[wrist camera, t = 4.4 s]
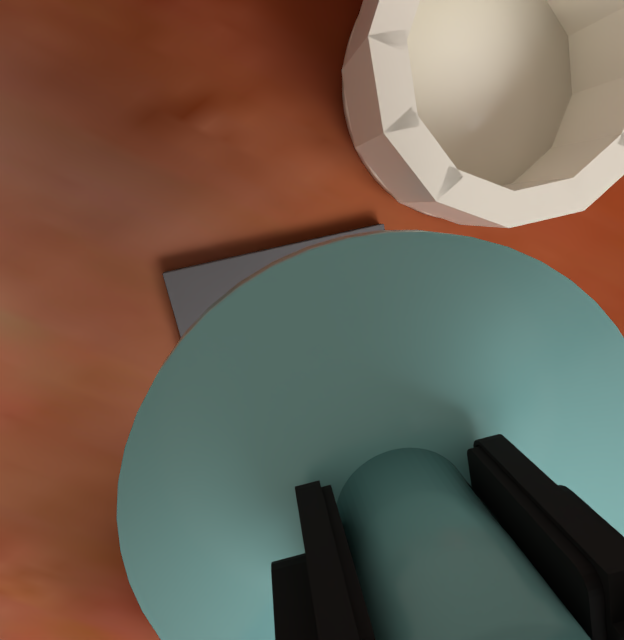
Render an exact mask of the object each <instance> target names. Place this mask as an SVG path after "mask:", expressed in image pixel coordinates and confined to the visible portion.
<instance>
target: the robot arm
mask: <svg viewBox="0 0 624 640" xmlns="http://www.w3.org/2000/svg"><path fill="white" fill-rule="evenodd" d="M467 458H468V465H469V473H470V480H471V487H472V488H473V489H474V491H475V492H476V493H477V494H478V496H479V497H480V498H481V499H482V501H483V502H484V503H485V505H486V506H487V507H488V508H489V510H490V511H491V512H492V514H493V515H494V516H495V517H496V519H497V520H498V521H499V522H500V524H501V525H502V526H503V528H504V529H505V530H506V531H507V533H508V534H509V535H510V536H511V538H512V539H513V540H514V542H515V543H516V544H517V545H518V547H519V548H520V549H521V551H522V552H523V553H524V554H525V556H526V557H527V558H528V559H529V561H530V562H531V563H532V565H533V566H534V567H535V568H536V570H537V571H538V572H539V574H540V575H541V576H542V577H543V579H544V580H545V581H546V582H547V584H548V585H549V586H550V588H551V589H552V590H553V591H554V593H555V594H556V595H557V596H558V598H559V599H560V600H561V602H562V603H563V604H564V605H565V607H566V608H567V609H568V611H569V612H570V613H571V614H572V616H573V617H574V618H575V619H576V621H577V622H578V623H579V625H580V626H581V627H582V628H583V630H584V631H585V632H586V633H587V635H588V636H589V637H590V639H591V640H624V536H622V535H621V534H620V533H619V532H618V531H617V530H616V529H615V528H613V527H612V526H611V525H610V524H609V523H608V522H607V521H606V520H604V519H603V518H602V517H601V516H600V515H599V514H598V513H597V512H595V511H594V510H593V509H592V508H591V507H590V506H589V505H588V504H586V503H585V502H584V501H583V500H582V499H581V498H580V497H579V496H577V495H576V494H575V493H574V492H573V491H572V490H570V489H569V488H568V487H566V486H563V485H557V484H556V483H555V482H554V481H553V480H551V479H550V478H549V477H548V476H547V475H546V474H545V473H544V472H543V471H542V470H541V469H539V468H538V467H537V466H536V465H535V464H534V463H533V462H532V461H531V460H530V459H528V458H527V457H526V456H525V455H524V454H523V453H522V452H521V451H520V450H519V449H517V448H516V447H515V446H514V445H513V444H512V443H511V442H510V441H509V440H508V439H507V438H505V437H504V436H503V435H501V434H497V435H493V436H489V437H485V438H481V439H478V440H475V441H474V444H473V448H471V449H468V450H467ZM295 493H296V499H297V505H298V511H299V518H300V524H301V530H302V536H303V543H304V549H305V553H303V554H300V555H296V556H292V557H288V558H285V559H281V560H277V561H273V562H272V563H271V577H272V594H273V611H274V628H275V640H375V636H374V632H373V628H372V624H371V621H370V617H369V614H368V611H367V607H366V604H365V600H364V597H363V593H362V590H361V586H360V583H359V580H358V576H357V573H356V569H355V566H354V562H353V559H352V556H351V552H350V549H349V545H348V542H347V538H346V535H345V531H344V528H343V525H342V521H341V518H340V514H339V511H338V507H337V504H336V501H335V497H334V494H333V490H332V487H331V485H327V486H323V487H321V485H320V481H319V480H318V481H314V482H310V483H307V484H303V485H299V486H295Z"/></svg>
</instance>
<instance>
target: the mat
mask: <svg viewBox="0 0 624 640" xmlns="http://www.w3.org/2000/svg"><path fill="white" fill-rule="evenodd" d="M379 230H385V229H384V224H377V225H372V226H368V227H363V228H359V229H355V230H350V231H346V232H341V233H337V234H332V235H328V236H323V237H319V238H314V239H310V240H305V241H301V242H296V243H292V244H288V245H283V246H279V247H274V248H270V249H265V250H261V251H256V252H252V253H247V254H243V255H238V256H234V257H230V258H225V259H221V260H216V261H212V262H207V263H203V264H198V265H194V266H189V267H185V268H180V269H176V270H172V271H167V272H164V273H163V277H164V280H165V284H166V287H167V291H168V294H169V298H170V301H171V305H172V308H173V312H174V315H175V319H176V322H177V326H178V329H179V333H180V336H181V337H182V336H183V335H184V333H185V332H186V331H187V330H188V329H189V328H190V327H191V326H192V325H193V324H194V322H195V321H196V320H197V319H198V318H199V317H200V316H201V315H202V314H203V313H204V312H205V311H206V310H207V309H208V308H209V307H210V306H211V305H212V304H213V303H214V302H215V301H217V300H218V299H219V298H220V297H222V296H223V295H224V294H225V293H227V292H228V291H229V290H230V289H232V288H233V287H234V286H235V285H236V284H238V283H239V282H240V281H242V280H244V279H245V278H247V277H248V276H250V275H252V274H253V273H255V272H257V271H258V270H260V269H262V268H263V267H265V266H267V265H268V264H270V263H271V262H273V261H276V260H278V259H280V258H282V257H285V256H287V255H289V254H291V253H294V252H296V251H298V250H300V249H303V248H305V247H307V246H311V245H314V244H318V243H321V242H324V241H328V240H331V239H335V238H338V237H341V236H346V235H353V234H359V233H366V232H372V231H379Z"/></svg>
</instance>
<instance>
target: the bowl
mask: <svg viewBox="0 0 624 640" xmlns="http://www.w3.org/2000/svg"><path fill="white" fill-rule="evenodd" d="M341 71H342V99H343V108H344V115H345V119H346V123H347V127H348V131H349V134H350V137H351V139H352V142H353V145H354V147H355V149H356V151H357V153H358V155H359V157H360V159H361V161H362V163H363V164H364V166H365V167H366V169H367V170H368V171H369V173H370V174H371V176H372V177H373V178H374V179H375V180H376V181H377V183H378V184H379V185H380V186H381V187H382V188H383V189H384V190H385V191H386V192H388V193H389V194H390V195H391V196H392V197H394V198H395V199H396V200H397V201H398V202H399V203H401V204H404V205H406V206H407V207H409V208H411V209H414V210H416V211H418V212H420V213H423V214H426V215H430V216H433V217H437V218H443V219H446V220H448V221H451V222H454V223H457V224H459V225H473V226H487V227H501V228H511V227H516V226H520V225H524V224H529V223H533V222H537V221H542V220H546V219H550V218H555V217H559V216H563V215H567V214H572V213H576V212H580V211H584V210H585V209H586V208H587V207H589V206H590V205H591V204H592V203H593V202H594V201H595V200H596V199H597V198H599V197H600V196H601V195H602V194H603V193H604V192H605V191H606V190H607V189H609V188H610V187H611V186H612V185H613V184H614V183H615V182H616V181H617V180H618V179H620V178H621V177H622V176H623V175H624V0H363V3H362V6H361V9H360V12H359V15H358V17H357V19H356V21H355V24H354V27H353V29H352V32H351V34H350V37H349V40H348V44H347V49H346V53H345V57H344V64H343V67H342V70H341Z"/></svg>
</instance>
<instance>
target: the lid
mask: <svg viewBox="0 0 624 640" xmlns="http://www.w3.org/2000/svg"><path fill="white" fill-rule="evenodd" d="M497 434H501V435H503V436H504V437H505V438H507V439H508V440H509V441H510V442H511V443H512V444H513V445H514V446H515V447H516V448H517V449H519V450H520V451H521V452H522V453H523V454H524V455H525V456H526V457H527V458H528V459H530V460H531V461H532V462H533V463H534V464H535V465H536V466H537V467H538V468H539V469H541V470H542V471H543V472H544V473H545V474H546V475H547V476H548V477H549V478H550V479H551V480H553V481H554V482H555V483H556V484H557V485H563V486H566V487H568V488H569V489H570V490H572V491H573V492H574V493H575V494H576V495H577V496H579V497H580V498H581V499H582V500H583V501H584V502H585V503H586V504H588V505H589V506H590V507H591V508H592V509H593V510H594V511H595V512H597V513H598V514H599V515H600V516H601V517H602V518H603V519H604V520H606V521H607V522H608V523H609V524H610V525H611V526H612V527H613V528H615V529H616V530H617V531H618V532H619V533H620V534H621V535H622V536H624V338H623V336H622V335H621V333H620V331H619V330H618V328H617V326H616V325H615V324H614V323H613V322H612V321H611V319H610V318H609V317H608V316H607V315H606V313H605V312H604V311H603V310H602V309H601V307H600V306H599V305H598V304H597V303H596V302H595V301H594V300H593V299H592V298H591V297H590V296H588V295H587V294H586V293H585V292H584V291H583V290H582V289H580V288H579V287H578V286H577V285H576V284H575V283H573V282H572V281H571V280H570V279H568V278H567V277H565V276H564V275H562V274H560V273H559V272H557V271H556V270H554V269H552V268H551V267H549V266H548V265H546V264H544V263H543V262H541V261H539V260H537V259H534V258H532V257H530V256H528V255H525V254H523V253H521V252H518V251H516V250H514V249H512V248H509V247H506V246H503V245H499V244H495V243H492V242H488V241H484V240H480V239H477V238H473V237H467V236H461V235H454V234H447V233H439V232H431V231H422V230H379V231H372V232H366V233H359V234H353V235H346V236H341V237H338V238H335V239H331V240H328V241H324V242H321V243H318V244H314V245H311V246H307V247H305V248H303V249H300V250H298V251H296V252H294V253H291V254H289V255H287V256H285V257H282V258H280V259H278V260H276V261H273V262H271V263H270V264H268V265H267V266H265V267H263V268H262V269H260V270H258V271H257V272H255V273H253V274H252V275H250V276H248V277H247V278H245V279H244V280H242V281H240V282H239V283H238V284H236V285H235V286H234V287H233V288H232V289H230V290H229V291H228V292H227V293H225V294H224V295H223V296H222V297H220V298H219V299H218V300H217V301H215V302H214V303H213V304H212V305H211V306H210V307H209V308H208V309H207V310H206V311H205V312H204V313H203V314H202V315H201V316H200V317H199V318H198V319H197V320H196V321H195V322H194V324H193V325H192V326H191V327H190V328H189V329H188V330H187V331H186V332H185V333H184V335H183V336H182V337H181V339H180V340H179V342H178V343H177V344H176V346H175V347H174V349H173V350H172V351H171V353H170V354H169V356H168V357H167V358H166V360H165V361H164V363H163V365H162V367H161V368H160V370H159V372H158V374H157V376H156V378H155V380H154V381H153V383H152V385H151V387H150V389H149V391H148V393H147V395H146V397H145V399H144V401H143V402H142V404H141V406H140V408H139V410H138V412H137V415H136V417H135V420H134V423H133V426H132V429H131V432H130V435H129V437H128V440H127V443H126V446H125V449H124V455H123V460H122V465H121V470H120V475H119V481H118V496H117V525H118V534H119V542H120V551H121V555H122V558H123V562H124V566H125V569H126V573H127V576H128V580H129V583H130V585H131V588H132V590H133V592H134V594H135V596H136V599H137V601H138V603H139V605H140V607H141V609H142V612H143V613H144V615H145V616H146V618H147V619H148V621H149V622H150V624H151V625H152V627H153V628H154V630H155V631H156V633H157V635H158V636H159V638H160V639H161V640H275V628H274V611H273V594H272V577H271V563H272V562H273V561H277V560H281V559H285V558H288V557H292V556H296V555H300V554H303V553H305V549H304V543H303V536H302V530H301V524H300V518H299V511H298V505H297V499H296V493H295V486H299V485H303V484H307V483H310V482H314V481H318V480H319V481H320V485H321V487H323V486H327V485H331V487H332V490H333V494H334V497H335V501H336V504H337V507H338V511H339V514H340V518H341V521H342V525H343V528H344V531H345V535H346V538H347V542H348V545H349V549H350V552H351V556H352V559H353V562H354V566H355V569H356V573H357V576H358V580H359V583H360V586H361V590H362V593H363V597H364V600H365V604H366V607H367V611H368V614H369V617H370V621H371V624H372V628H373V632H374V636H375V640H591V639H590V637H589V636H588V635H587V633H586V632H585V631H584V630H583V628H582V627H581V626H580V625H579V623H578V622H577V621H576V619H575V618H574V617H573V616H572V614H571V613H570V612H569V611H568V609H567V608H566V607H565V605H564V604H563V603H562V602H561V600H560V599H559V598H558V596H557V595H556V594H555V593H554V591H553V590H552V589H551V588H550V586H549V585H548V584H547V582H546V581H545V580H544V579H543V577H542V576H541V575H540V574H539V572H538V571H537V570H536V568H535V567H534V566H533V565H532V563H531V562H530V561H529V559H528V558H527V557H526V556H525V554H524V553H523V552H522V551H521V549H520V548H519V547H518V545H517V544H516V543H515V542H514V540H513V539H512V538H511V536H510V535H509V534H508V533H507V531H506V530H505V529H504V528H503V526H502V525H501V524H500V522H499V521H498V520H497V519H496V517H495V516H494V515H493V514H492V512H491V511H490V510H489V508H488V507H487V506H486V505H485V503H484V502H483V501H482V499H481V498H480V497H479V496H478V494H477V493H476V492H475V491H474V489H473V488H472V487H471V480H470V473H469V465H468V458H467V450H468V449H471V448H473V444H474V441H475V440H478V439H481V438H485V437H489V436H493V435H497Z"/></svg>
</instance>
